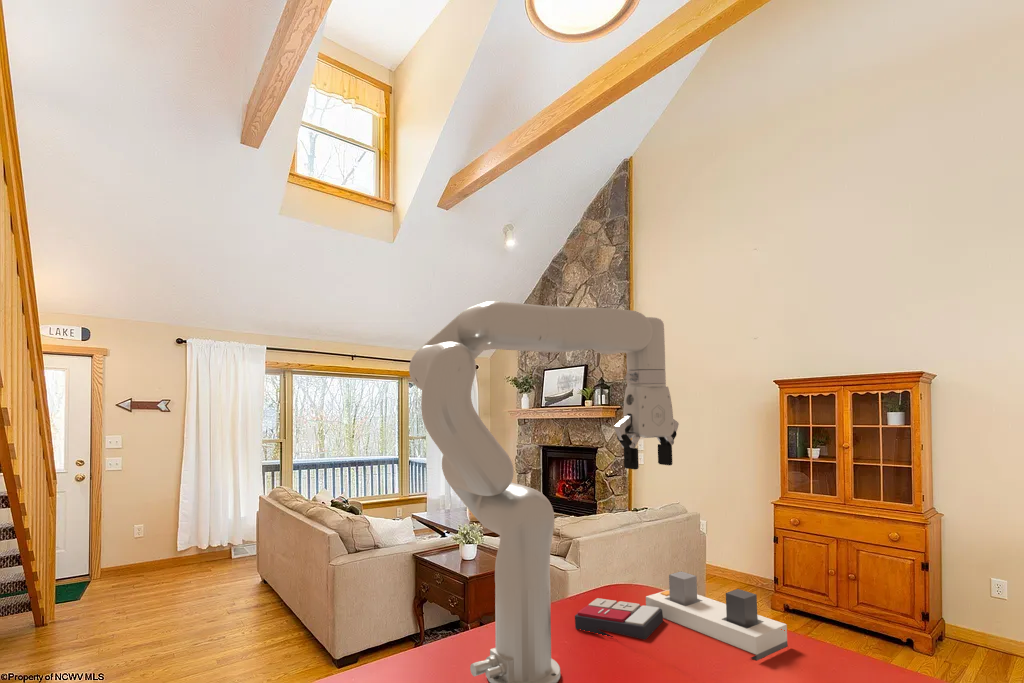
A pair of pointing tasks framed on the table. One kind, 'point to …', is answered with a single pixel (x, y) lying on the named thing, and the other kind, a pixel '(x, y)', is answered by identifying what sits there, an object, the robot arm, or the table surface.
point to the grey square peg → (683, 588)
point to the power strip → (723, 624)
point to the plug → (741, 608)
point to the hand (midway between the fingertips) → (648, 466)
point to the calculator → (619, 618)
